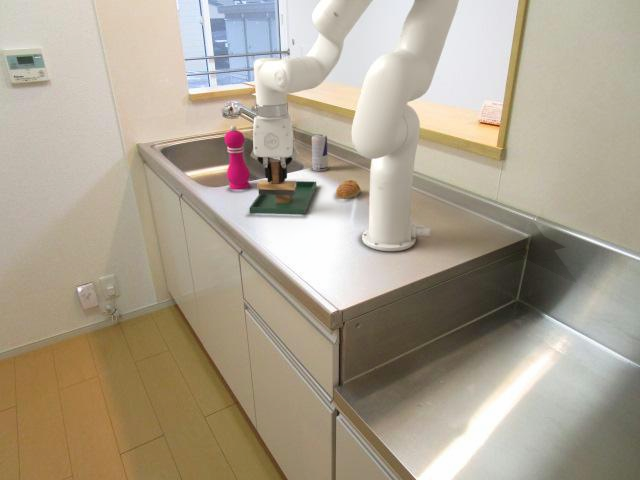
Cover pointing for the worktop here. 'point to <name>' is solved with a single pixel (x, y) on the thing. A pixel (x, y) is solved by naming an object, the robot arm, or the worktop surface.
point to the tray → (296, 206)
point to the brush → (276, 182)
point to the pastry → (348, 189)
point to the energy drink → (319, 152)
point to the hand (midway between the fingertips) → (276, 180)
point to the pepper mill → (236, 160)
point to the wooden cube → (283, 199)
